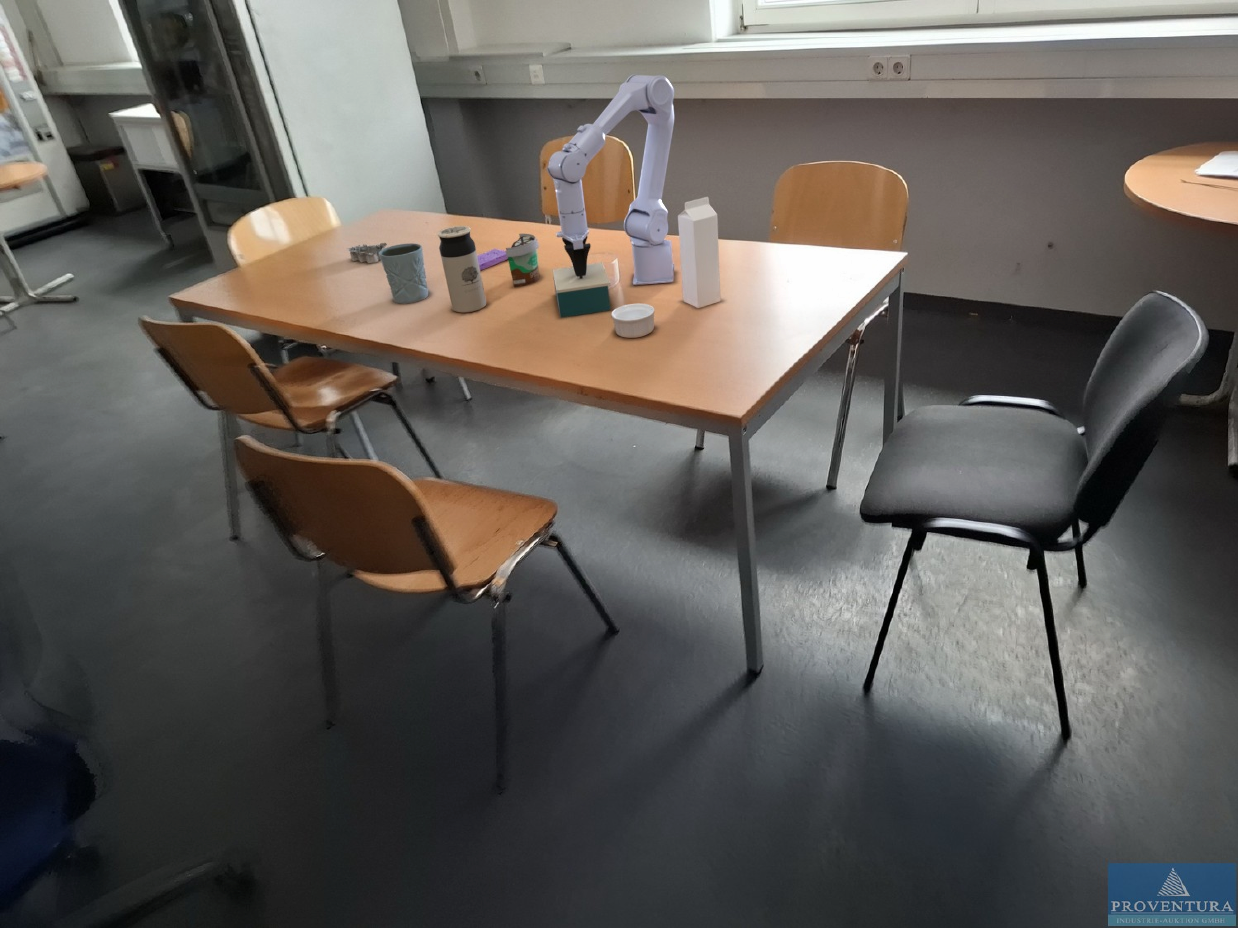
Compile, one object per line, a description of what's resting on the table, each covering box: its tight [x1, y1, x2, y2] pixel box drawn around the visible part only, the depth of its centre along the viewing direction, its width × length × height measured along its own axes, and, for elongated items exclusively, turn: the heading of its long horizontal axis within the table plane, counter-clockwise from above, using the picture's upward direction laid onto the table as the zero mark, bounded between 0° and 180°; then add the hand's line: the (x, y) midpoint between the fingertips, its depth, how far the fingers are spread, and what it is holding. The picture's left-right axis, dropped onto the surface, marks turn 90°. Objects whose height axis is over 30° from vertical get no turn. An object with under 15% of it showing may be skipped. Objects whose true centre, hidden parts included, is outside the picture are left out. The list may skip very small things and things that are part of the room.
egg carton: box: [346, 242, 388, 264], centre depth 233 cm, size 11×8×4 cm
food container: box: [505, 233, 540, 288], centre depth 201 cm, size 12×6×10 cm, turn 169°
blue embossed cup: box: [379, 242, 429, 305], centre depth 199 cm, size 10×10×12 cm
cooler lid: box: [551, 262, 611, 293], centre depth 183 cm, size 12×15×4 cm
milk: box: [677, 196, 722, 309], centre depth 174 cm, size 6×6×22 cm
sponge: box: [477, 248, 508, 271], centre depth 219 cm, size 7×13×2 cm, turn 136°
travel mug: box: [436, 225, 487, 314], centre depth 187 cm, size 8×8×18 cm
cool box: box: [552, 275, 612, 319], centre depth 185 cm, size 11×15×6 cm
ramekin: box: [610, 303, 655, 339], centre depth 168 cm, size 9×9×4 cm
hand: (579, 272), depth 183 cm, fingers closed on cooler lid, 4 cm apart
